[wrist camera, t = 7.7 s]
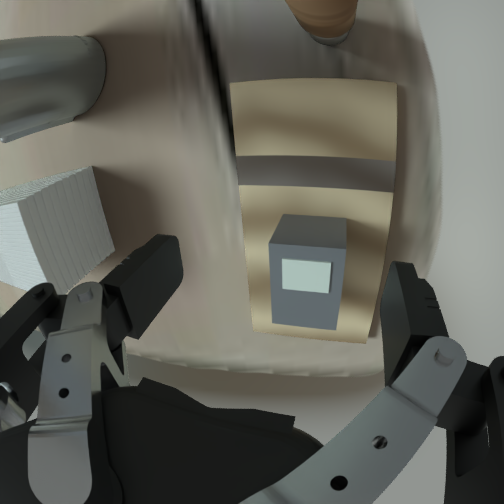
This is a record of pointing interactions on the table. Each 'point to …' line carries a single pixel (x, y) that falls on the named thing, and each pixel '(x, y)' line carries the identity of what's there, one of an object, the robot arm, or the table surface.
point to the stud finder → (307, 270)
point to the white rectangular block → (52, 231)
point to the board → (317, 182)
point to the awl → (325, 18)
